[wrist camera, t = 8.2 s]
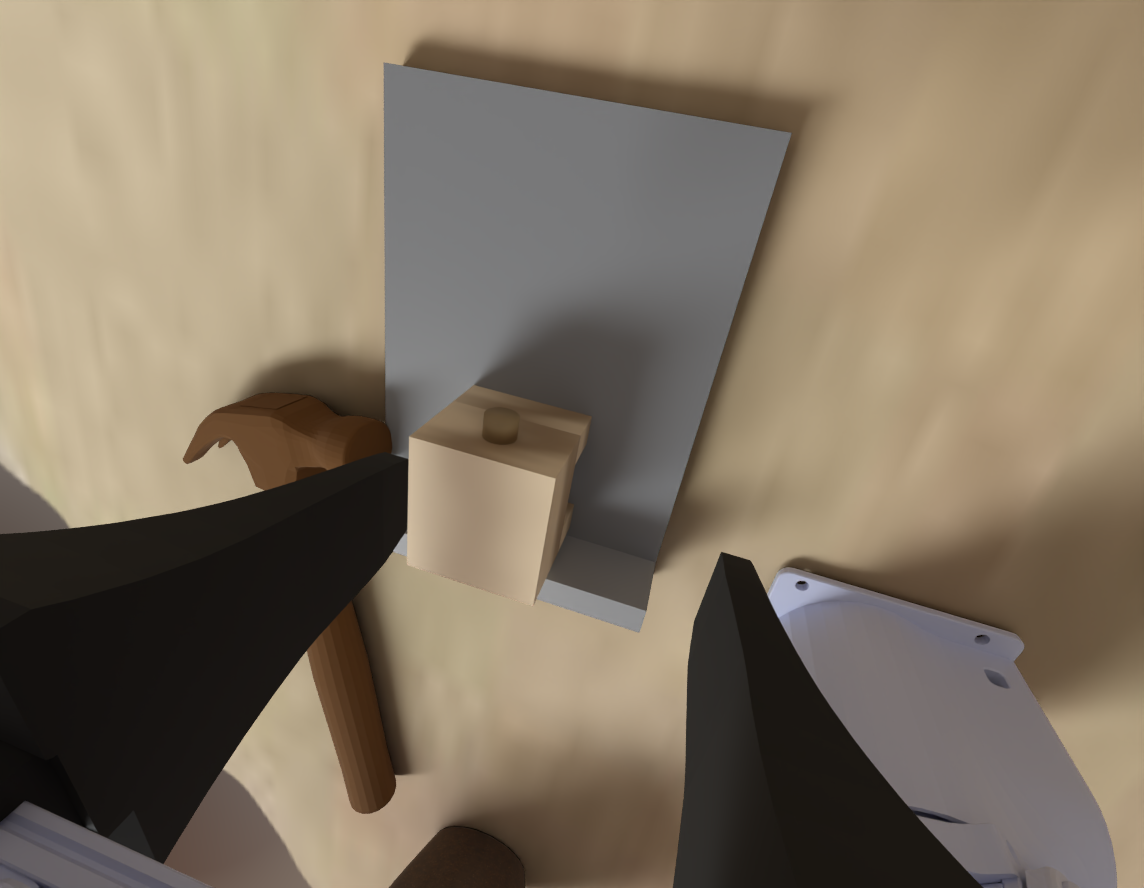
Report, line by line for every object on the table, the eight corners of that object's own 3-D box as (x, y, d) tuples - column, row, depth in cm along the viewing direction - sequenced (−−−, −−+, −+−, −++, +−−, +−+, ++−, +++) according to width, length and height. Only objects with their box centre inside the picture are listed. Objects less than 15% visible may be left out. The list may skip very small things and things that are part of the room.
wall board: (788, 135, 16) (804, 122, 13) (649, 577, 25) (636, 642, 21) (400, 68, 18) (321, 40, 14) (397, 499, 27) (347, 546, 23)
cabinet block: (595, 397, 20) (559, 456, 16) (569, 527, 23) (532, 606, 19) (475, 366, 21) (409, 414, 17) (464, 495, 24) (406, 564, 20)
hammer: (438, 798, 37) (391, 410, 23) (409, 844, 35) (335, 439, 21) (315, 729, 41) (211, 362, 27) (280, 765, 39) (145, 381, 25)
